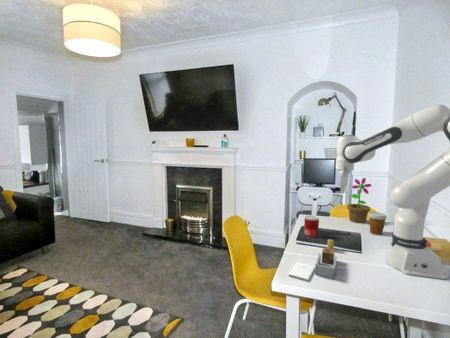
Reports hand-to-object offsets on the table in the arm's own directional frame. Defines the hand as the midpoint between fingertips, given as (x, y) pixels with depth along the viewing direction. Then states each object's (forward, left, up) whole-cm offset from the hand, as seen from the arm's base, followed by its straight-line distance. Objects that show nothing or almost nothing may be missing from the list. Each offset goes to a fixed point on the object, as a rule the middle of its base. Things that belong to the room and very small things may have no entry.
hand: (343, 191), depth 141 cm
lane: (+4, +35, -29) cm, 46 cm away
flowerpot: (-9, -45, -29) cm, 54 cm away
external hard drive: (+13, +41, -30) cm, 53 cm away
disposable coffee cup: (-19, -25, -29) cm, 43 cm away
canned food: (+16, -4, -29) cm, 34 cm away
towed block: (+4, +19, -29) cm, 35 cm away
